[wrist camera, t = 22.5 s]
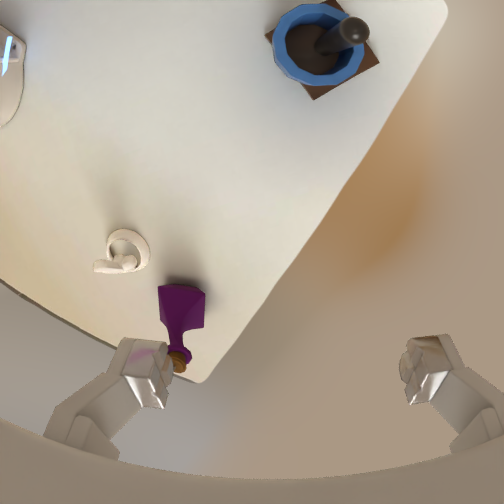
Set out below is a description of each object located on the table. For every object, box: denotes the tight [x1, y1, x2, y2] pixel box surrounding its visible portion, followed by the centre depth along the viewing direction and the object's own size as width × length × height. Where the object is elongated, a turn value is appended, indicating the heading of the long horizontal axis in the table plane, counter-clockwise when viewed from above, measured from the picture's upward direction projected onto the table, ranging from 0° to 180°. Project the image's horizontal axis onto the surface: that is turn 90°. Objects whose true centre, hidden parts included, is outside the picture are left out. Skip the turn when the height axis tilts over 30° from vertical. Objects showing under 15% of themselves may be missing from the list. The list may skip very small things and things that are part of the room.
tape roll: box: [272, 4, 364, 86], centre depth 28 cm, size 9×9×7 cm
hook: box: [93, 229, 150, 274], centre depth 44 cm, size 8×12×7 cm
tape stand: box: [265, 0, 379, 100], centre depth 24 cm, size 10×10×16 cm
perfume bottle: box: [158, 284, 205, 373], centre depth 44 cm, size 8×8×18 cm
